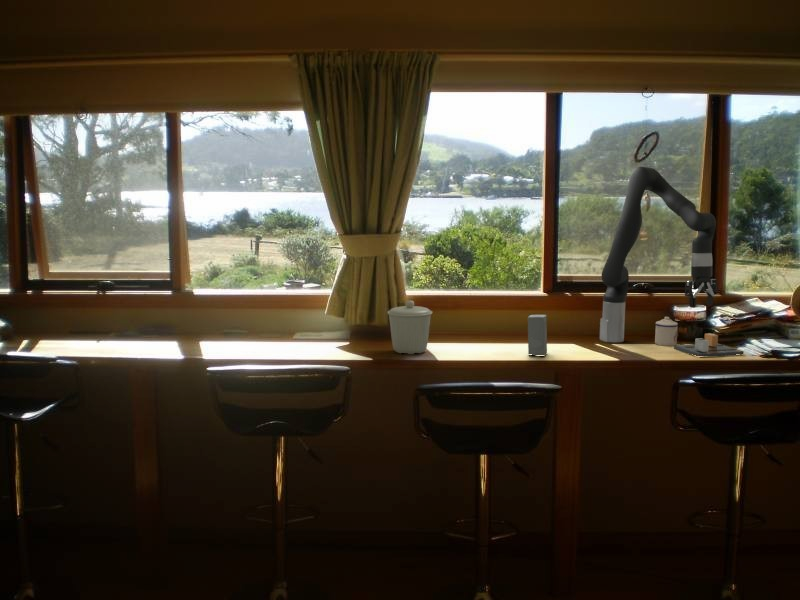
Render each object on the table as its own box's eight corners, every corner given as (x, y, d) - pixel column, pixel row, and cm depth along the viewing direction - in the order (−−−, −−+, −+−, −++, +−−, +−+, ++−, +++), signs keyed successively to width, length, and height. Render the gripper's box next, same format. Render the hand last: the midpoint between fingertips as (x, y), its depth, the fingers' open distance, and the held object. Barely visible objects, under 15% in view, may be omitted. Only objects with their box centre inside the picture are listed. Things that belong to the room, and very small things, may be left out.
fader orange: (711, 346, 284) (712, 335, 283) (704, 344, 288) (704, 333, 288) (717, 346, 284) (718, 335, 283) (709, 343, 289) (710, 332, 288)
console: (699, 357, 271) (699, 353, 271) (673, 348, 288) (673, 344, 288) (744, 355, 276) (744, 351, 275) (716, 346, 292) (716, 342, 292)
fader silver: (702, 351, 274) (703, 340, 273) (694, 349, 278) (695, 338, 278) (708, 351, 274) (709, 340, 274) (700, 348, 279) (701, 337, 278)
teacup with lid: (678, 346, 292) (680, 319, 290) (655, 345, 294) (657, 318, 292) (673, 341, 303) (675, 314, 302) (651, 340, 305) (653, 313, 304)
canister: (387, 347, 292) (387, 297, 289) (431, 347, 292) (431, 297, 289) (387, 357, 274) (387, 303, 271) (433, 356, 274) (433, 303, 271)
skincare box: (544, 357, 272) (545, 317, 270) (526, 356, 275) (527, 316, 273) (547, 353, 280) (548, 314, 278) (529, 351, 283) (530, 313, 280)
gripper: (708, 263, 275) (707, 304, 277) (680, 265, 270) (679, 307, 272) (723, 264, 269) (722, 306, 270) (694, 266, 263) (694, 308, 265)
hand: (701, 306), depth 271 cm, fingers open, 8 cm apart
